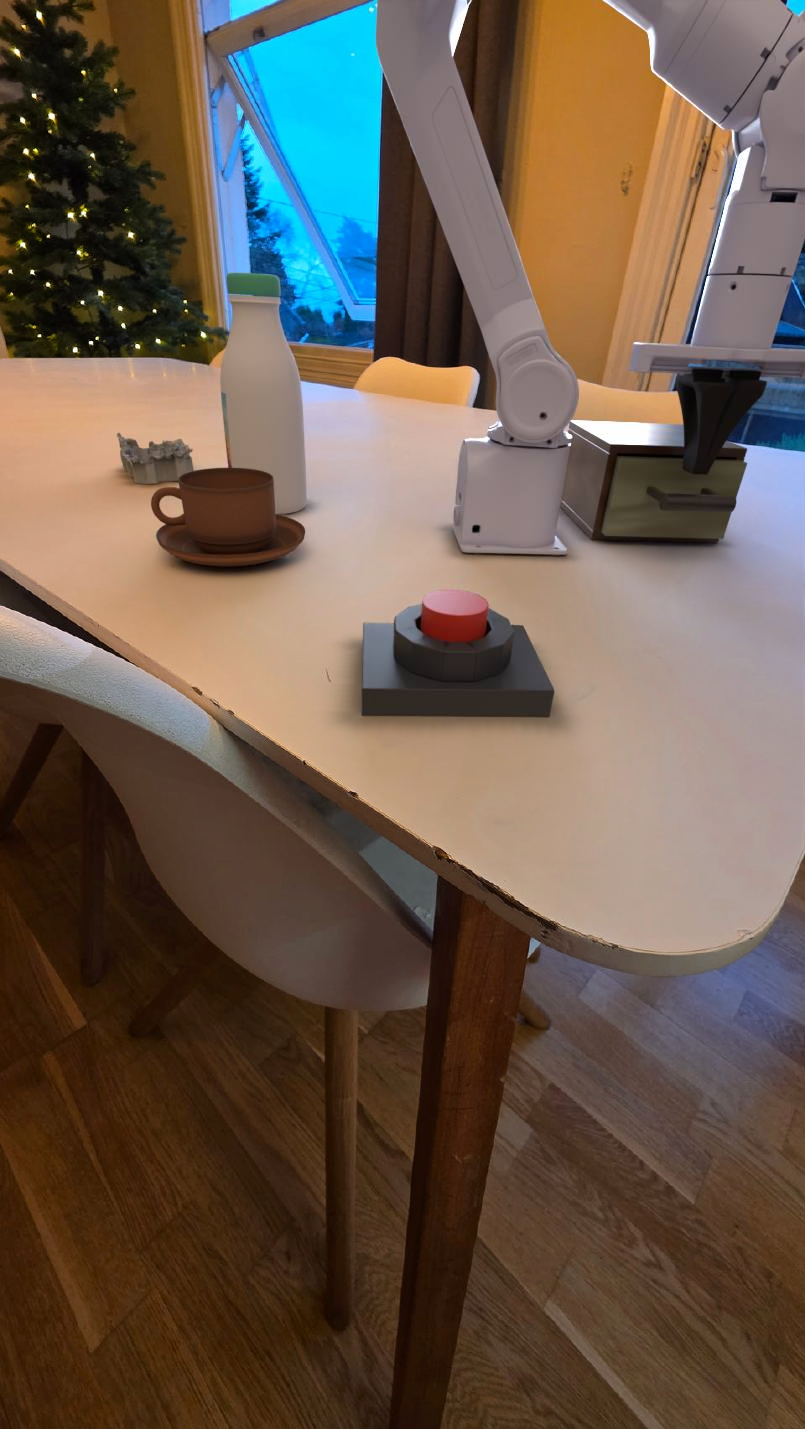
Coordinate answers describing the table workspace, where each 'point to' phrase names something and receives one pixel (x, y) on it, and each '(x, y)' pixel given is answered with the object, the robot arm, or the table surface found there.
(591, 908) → the table surface
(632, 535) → the drawer
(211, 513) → the cup and saucer
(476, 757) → the table surface
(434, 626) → the button
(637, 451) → the cabinet
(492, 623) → the control block
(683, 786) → the table surface
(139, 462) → the egg carton
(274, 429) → the milk bottle
